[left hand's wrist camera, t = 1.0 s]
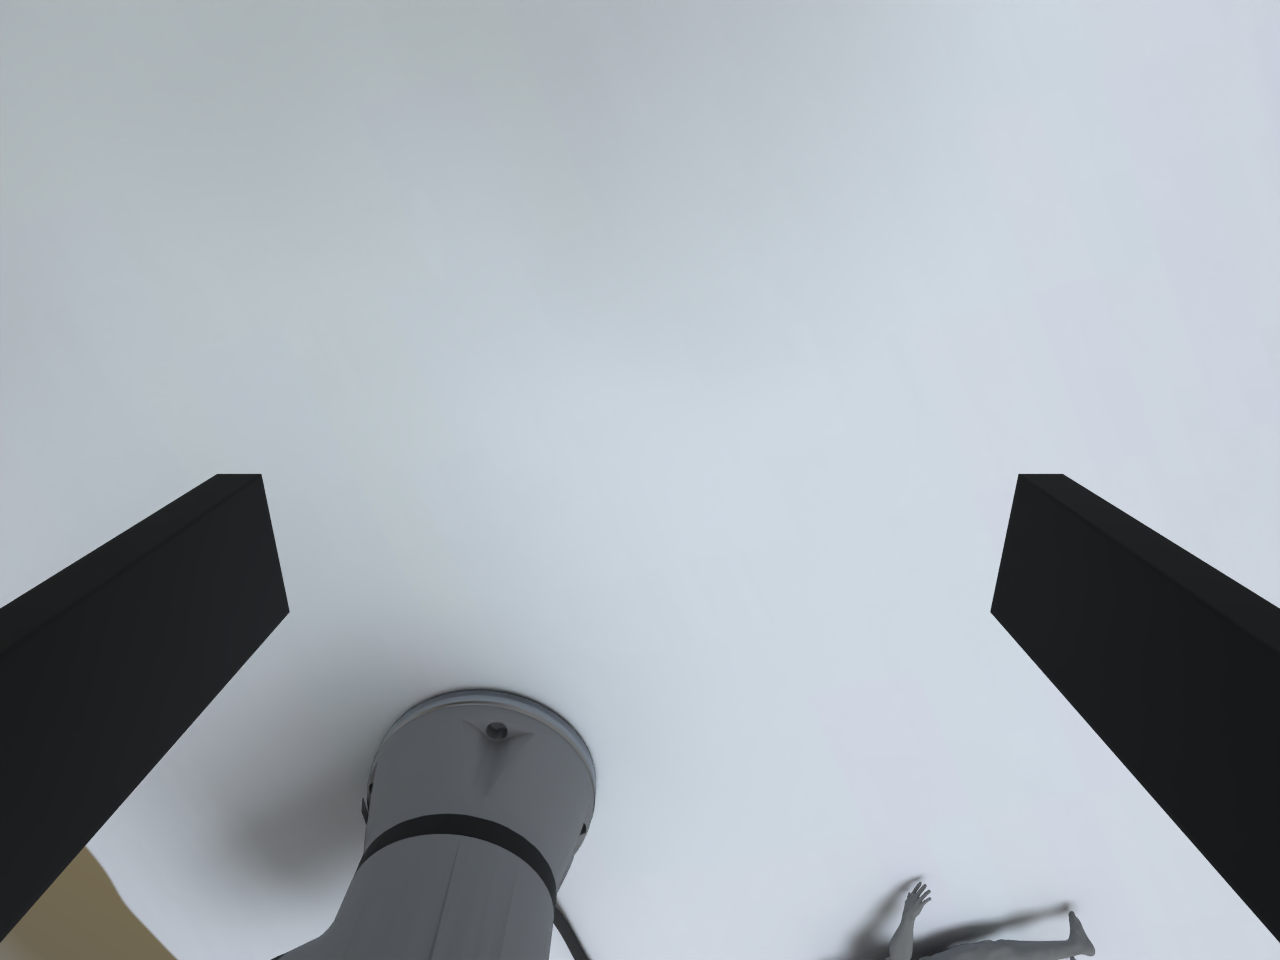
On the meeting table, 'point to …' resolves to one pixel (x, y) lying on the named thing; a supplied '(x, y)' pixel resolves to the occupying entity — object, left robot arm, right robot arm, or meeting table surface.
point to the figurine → (987, 941)
